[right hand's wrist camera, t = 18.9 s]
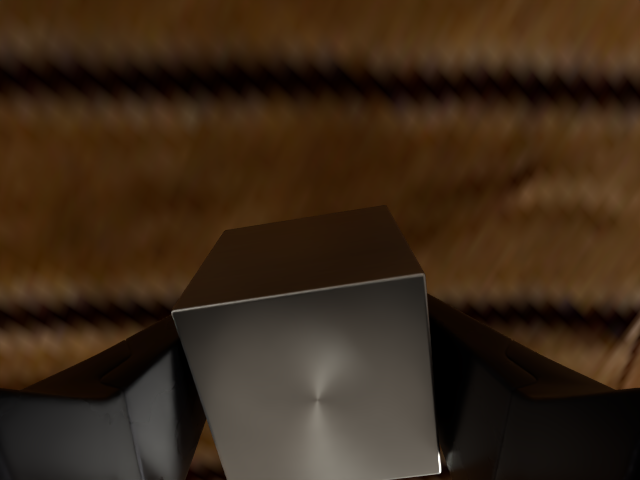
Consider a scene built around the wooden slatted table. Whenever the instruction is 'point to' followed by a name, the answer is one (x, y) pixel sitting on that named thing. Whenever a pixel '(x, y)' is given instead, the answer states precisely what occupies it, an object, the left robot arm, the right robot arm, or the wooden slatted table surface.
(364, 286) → the block
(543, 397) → the right robot arm
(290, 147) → the wooden slatted table surface
